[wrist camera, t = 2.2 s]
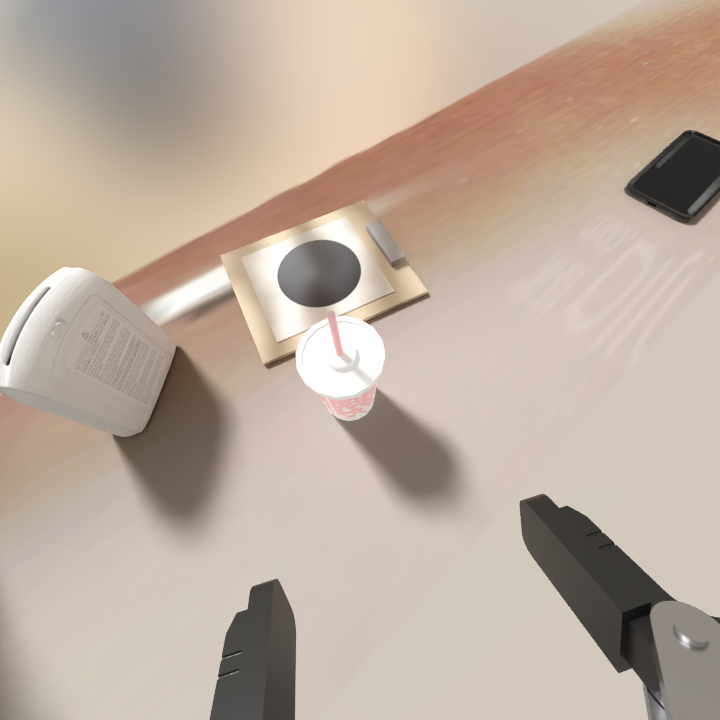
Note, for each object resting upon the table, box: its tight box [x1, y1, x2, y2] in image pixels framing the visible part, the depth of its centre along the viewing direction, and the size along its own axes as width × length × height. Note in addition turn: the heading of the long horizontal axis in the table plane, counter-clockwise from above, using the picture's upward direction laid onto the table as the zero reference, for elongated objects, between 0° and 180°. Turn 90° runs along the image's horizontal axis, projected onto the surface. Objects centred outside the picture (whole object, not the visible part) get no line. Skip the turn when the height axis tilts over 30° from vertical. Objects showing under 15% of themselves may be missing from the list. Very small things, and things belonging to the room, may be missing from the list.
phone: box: [624, 130, 720, 222], centre depth 41 cm, size 8×1×15 cm
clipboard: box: [220, 201, 427, 366], centre depth 37 cm, size 18×15×1 cm
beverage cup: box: [296, 311, 385, 421], centre depth 25 cm, size 6×6×14 cm
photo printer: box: [0, 267, 176, 437], centre depth 27 cm, size 10×4×12 cm, turn 174°
